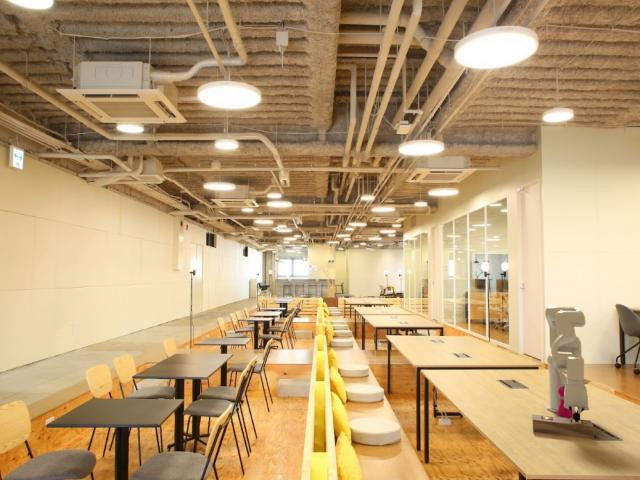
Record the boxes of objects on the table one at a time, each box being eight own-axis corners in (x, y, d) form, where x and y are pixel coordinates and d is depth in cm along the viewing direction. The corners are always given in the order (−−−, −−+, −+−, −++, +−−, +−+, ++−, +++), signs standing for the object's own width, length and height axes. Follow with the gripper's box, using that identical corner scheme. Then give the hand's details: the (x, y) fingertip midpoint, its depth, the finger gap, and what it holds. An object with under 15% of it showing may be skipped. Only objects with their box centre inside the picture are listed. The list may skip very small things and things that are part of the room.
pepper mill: (559, 419, 254) (558, 381, 255) (574, 422, 249) (573, 383, 251) (556, 422, 248) (555, 383, 250) (571, 425, 244) (570, 385, 245)
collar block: (532, 426, 242) (532, 414, 243) (590, 433, 232) (590, 420, 233) (533, 432, 233) (533, 419, 233) (593, 439, 223) (593, 426, 223)
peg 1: (542, 425, 238) (542, 416, 238) (551, 426, 236) (551, 417, 237) (543, 427, 234) (542, 418, 234) (552, 428, 233) (551, 419, 233)
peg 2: (571, 428, 233) (571, 419, 233) (581, 429, 231) (580, 420, 232) (572, 431, 229) (572, 421, 229) (582, 432, 228) (581, 422, 228)
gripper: (591, 382, 232) (593, 420, 231) (557, 379, 238) (558, 417, 237) (594, 385, 225) (595, 425, 224) (559, 382, 231) (560, 421, 230)
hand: (576, 421), depth 230 cm, fingers closed
